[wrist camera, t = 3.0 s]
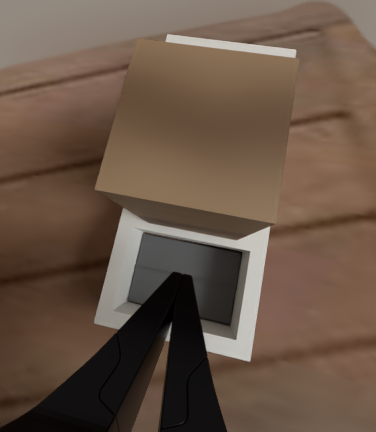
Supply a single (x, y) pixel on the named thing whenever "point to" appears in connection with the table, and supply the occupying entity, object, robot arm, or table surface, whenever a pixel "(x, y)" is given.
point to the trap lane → (191, 263)
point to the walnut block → (200, 138)
